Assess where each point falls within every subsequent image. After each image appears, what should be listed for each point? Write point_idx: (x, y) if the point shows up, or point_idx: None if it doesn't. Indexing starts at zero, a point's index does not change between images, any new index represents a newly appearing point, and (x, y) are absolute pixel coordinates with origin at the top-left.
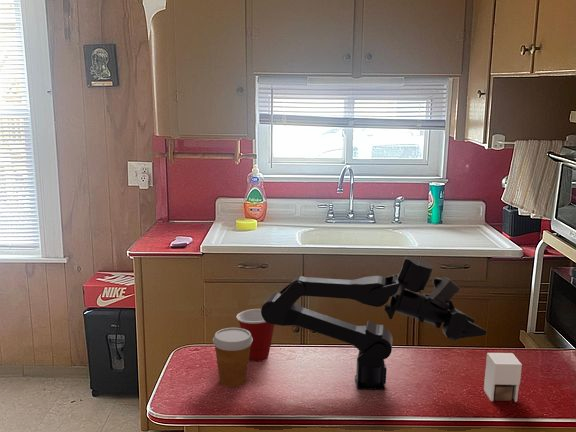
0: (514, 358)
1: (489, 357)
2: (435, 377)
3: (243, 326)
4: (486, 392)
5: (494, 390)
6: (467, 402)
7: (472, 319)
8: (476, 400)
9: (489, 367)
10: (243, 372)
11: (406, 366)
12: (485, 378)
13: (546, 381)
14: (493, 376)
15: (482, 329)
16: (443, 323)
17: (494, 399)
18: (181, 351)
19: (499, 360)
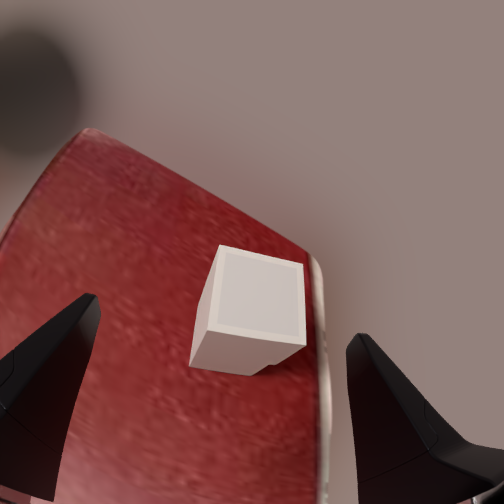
0: (261, 261)
1: (238, 337)
2: (102, 462)
3: None
4: (213, 369)
5: None
6: (254, 436)
7: (91, 307)
8: (244, 410)
9: (238, 349)
10: None
11: (35, 497)
12: (199, 358)
13: (171, 209)
14: (279, 358)
15: (386, 357)
16: (54, 493)
17: None
18: None
19: (278, 317)
